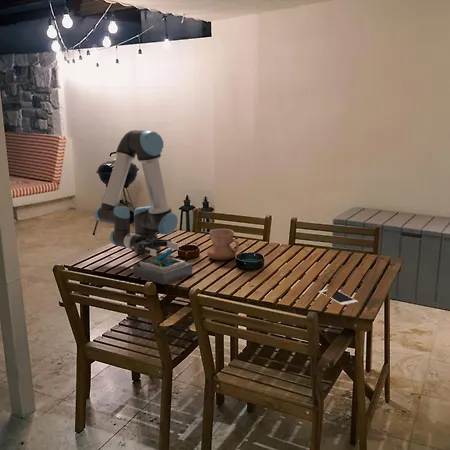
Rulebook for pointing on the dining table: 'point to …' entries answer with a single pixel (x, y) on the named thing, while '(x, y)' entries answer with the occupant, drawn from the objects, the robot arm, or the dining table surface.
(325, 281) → the dining table surface
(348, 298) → the cell phone
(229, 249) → the ceramic jug
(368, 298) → the dining table surface
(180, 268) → the grey open tray
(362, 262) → the dining table surface
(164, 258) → the gear
